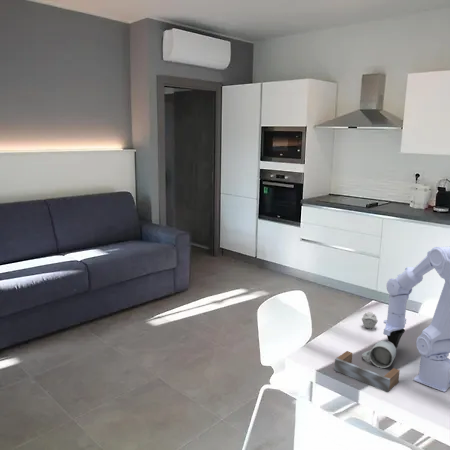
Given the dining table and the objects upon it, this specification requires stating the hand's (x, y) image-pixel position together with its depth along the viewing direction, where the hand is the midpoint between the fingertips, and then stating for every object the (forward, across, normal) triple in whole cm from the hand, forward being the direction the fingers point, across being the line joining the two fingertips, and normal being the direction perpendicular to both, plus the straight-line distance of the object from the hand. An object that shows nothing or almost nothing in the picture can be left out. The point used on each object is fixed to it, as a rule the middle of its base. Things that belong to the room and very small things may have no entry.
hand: (393, 348), depth 156 cm
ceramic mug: (+3, +9, -1) cm, 9 cm away
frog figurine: (+3, -15, -16) cm, 22 cm away
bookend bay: (+2, +20, 0) cm, 20 cm away
